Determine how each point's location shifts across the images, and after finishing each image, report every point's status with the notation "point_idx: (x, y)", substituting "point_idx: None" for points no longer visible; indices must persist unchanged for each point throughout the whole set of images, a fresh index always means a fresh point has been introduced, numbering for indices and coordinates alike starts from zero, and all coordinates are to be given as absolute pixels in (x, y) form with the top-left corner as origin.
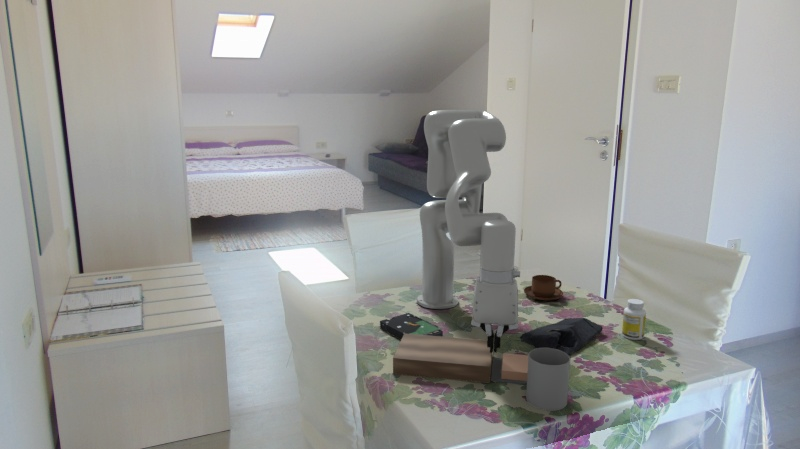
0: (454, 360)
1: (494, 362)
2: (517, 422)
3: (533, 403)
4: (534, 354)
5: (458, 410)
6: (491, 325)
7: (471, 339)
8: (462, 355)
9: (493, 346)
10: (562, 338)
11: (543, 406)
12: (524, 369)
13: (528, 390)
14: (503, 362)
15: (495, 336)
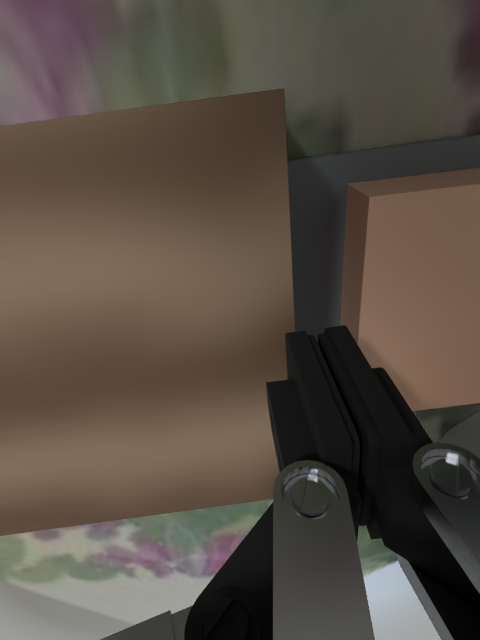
0: (91, 500)
1: (290, 227)
2: (380, 556)
3: None
4: None
5: (209, 563)
6: (357, 555)
7: (43, 140)
8: (109, 443)
9: (313, 337)
10: None
11: None
12: (478, 376)
13: None
14: (364, 337)
15: (375, 525)
